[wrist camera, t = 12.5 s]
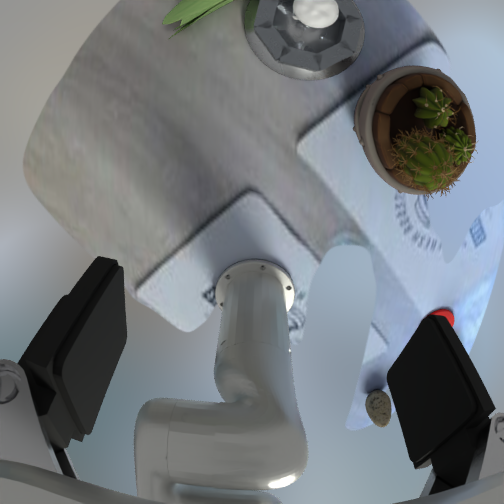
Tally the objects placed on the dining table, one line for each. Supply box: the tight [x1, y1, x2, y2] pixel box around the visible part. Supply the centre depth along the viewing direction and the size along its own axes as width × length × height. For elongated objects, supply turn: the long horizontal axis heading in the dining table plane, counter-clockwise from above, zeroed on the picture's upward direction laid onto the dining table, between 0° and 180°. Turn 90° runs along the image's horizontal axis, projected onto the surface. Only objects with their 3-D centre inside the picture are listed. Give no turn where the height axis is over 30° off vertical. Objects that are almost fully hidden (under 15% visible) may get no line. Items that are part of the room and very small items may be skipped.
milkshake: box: [292, 0, 339, 34], centre depth 26 cm, size 5×5×10 cm
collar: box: [244, 0, 365, 80], centre depth 29 cm, size 15×15×4 cm
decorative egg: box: [365, 390, 391, 427], centre depth 61 cm, size 6×6×10 cm
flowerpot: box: [353, 66, 476, 201], centre depth 28 cm, size 14×15×20 cm
